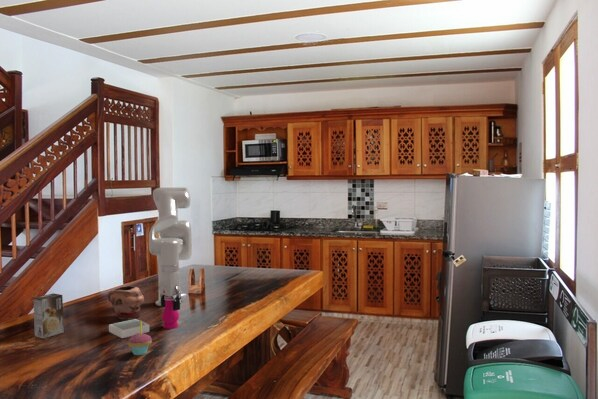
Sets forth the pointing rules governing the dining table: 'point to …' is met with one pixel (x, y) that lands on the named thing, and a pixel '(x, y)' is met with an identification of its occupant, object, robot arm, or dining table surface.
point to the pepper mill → (169, 314)
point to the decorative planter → (126, 301)
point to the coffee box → (48, 315)
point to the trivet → (128, 328)
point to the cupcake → (139, 342)
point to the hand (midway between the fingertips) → (170, 308)
